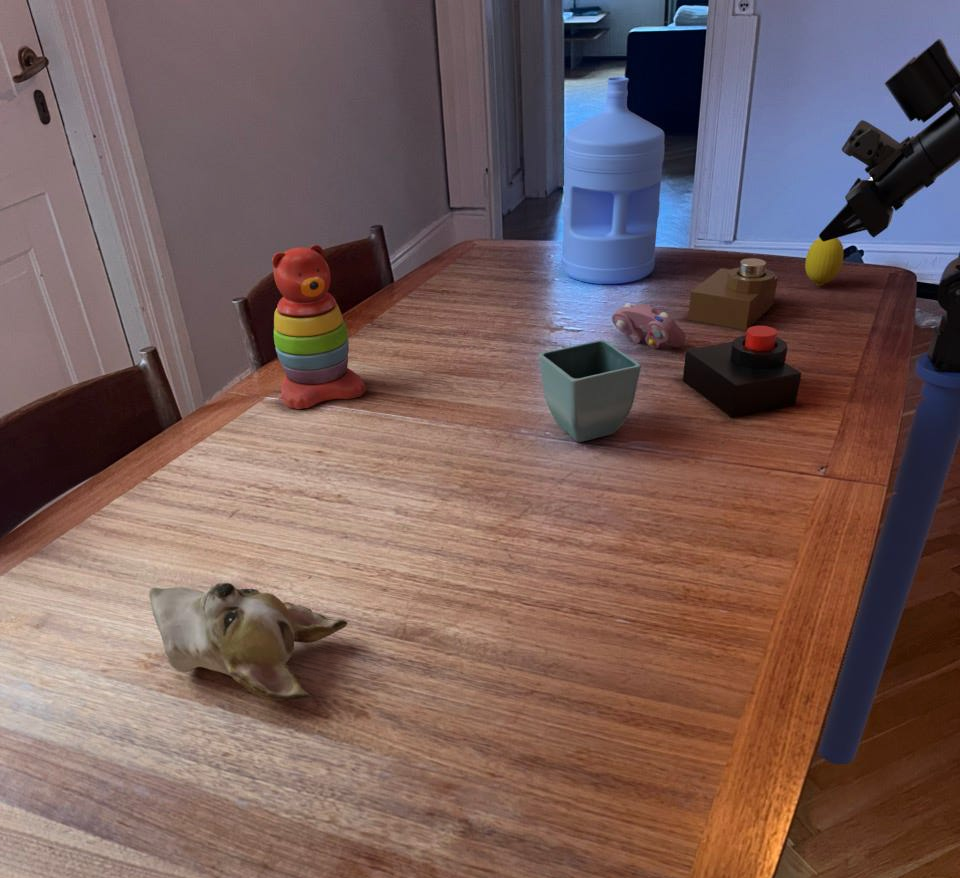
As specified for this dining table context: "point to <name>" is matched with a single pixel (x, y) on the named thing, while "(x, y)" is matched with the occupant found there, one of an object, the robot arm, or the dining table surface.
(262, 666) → the ceramic sculpture
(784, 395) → the near box
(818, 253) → the lemon
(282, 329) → the stacking bear
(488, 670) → the dining table surface
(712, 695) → the dining table surface
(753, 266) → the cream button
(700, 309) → the far box
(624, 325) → the video game controller
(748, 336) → the red button
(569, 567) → the dining table surface
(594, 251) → the water jug
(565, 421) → the flower pot
